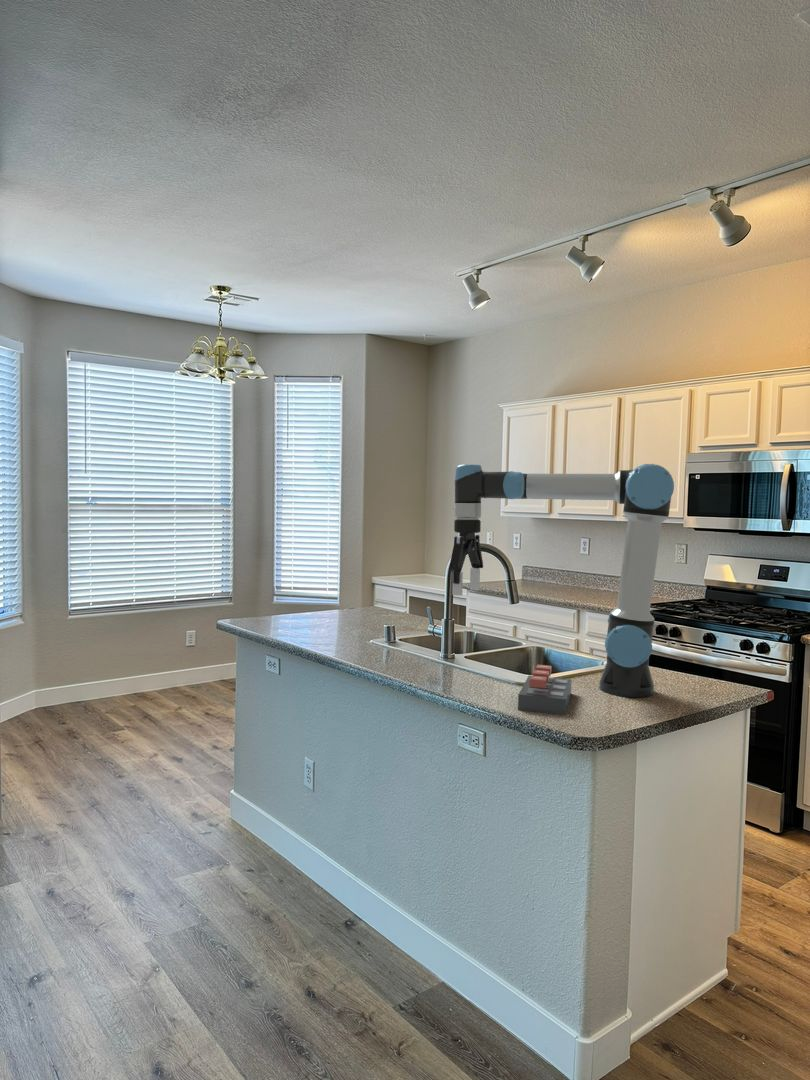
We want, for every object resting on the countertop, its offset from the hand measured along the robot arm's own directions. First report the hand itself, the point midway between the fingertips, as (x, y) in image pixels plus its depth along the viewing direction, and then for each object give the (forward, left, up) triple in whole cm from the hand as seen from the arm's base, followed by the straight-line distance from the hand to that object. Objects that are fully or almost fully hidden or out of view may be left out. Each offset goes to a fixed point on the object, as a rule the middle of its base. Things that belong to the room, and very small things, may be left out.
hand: (466, 592), depth 214 cm
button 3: (-23, +15, -21) cm, 35 cm away
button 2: (-23, +8, -21) cm, 32 cm away
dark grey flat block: (-24, +7, -27) cm, 37 cm away
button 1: (-23, +1, -21) cm, 31 cm away
